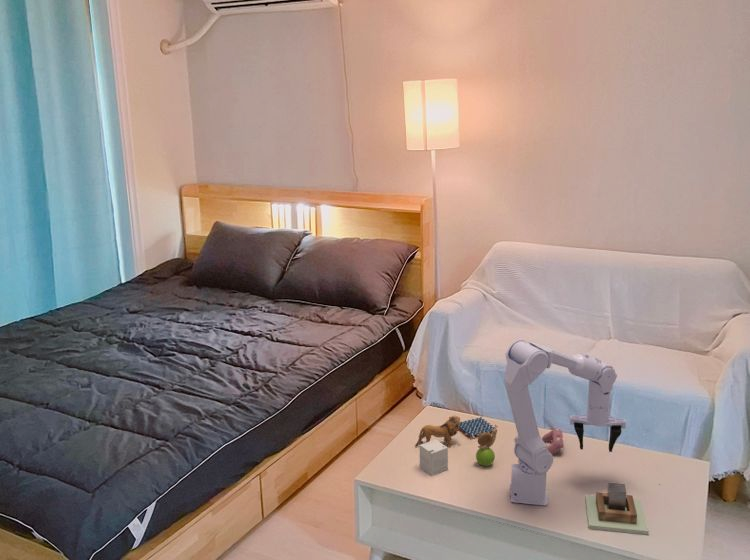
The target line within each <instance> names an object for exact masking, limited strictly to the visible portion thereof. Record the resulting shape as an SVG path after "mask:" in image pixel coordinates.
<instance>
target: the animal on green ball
mask: <svg viewBox="0 0 750 560" xmlns="http://www.w3.org/2000/svg"><path fill="white" fill-rule="evenodd" d="M494 427H495V428H494V429H493V430H492V432H493V433H492V435H491V434H490V433H487V432H484V433H482V434H480V435H479V437H478V436H477V437H478V438H477V444H478V446H477V447H478V450H477V451H476V453H475V459H476V461H477V463H478V464H480V465H481V466H483V467H488V466H490V465H492V464H493V463H494V461H495V458H496V455H495V454H496V453H495V452H494V450H493V449H492V448H490V447H493V445H494V443H495V441H496V436H497V433H498V425H497V424H494Z"/></svg>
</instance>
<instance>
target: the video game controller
mask: <svg viewBox="0 0 750 560" xmlns="http://www.w3.org/2000/svg"><path fill="white" fill-rule="evenodd" d="M541 438H542V440H543V441H544V443H549V442H551V444H549V445H548V446H547V449H548V451H549V452H550V453H551V454H552V455H553V454H556V453H557V452H559V451H560V450H561V449H564V447H565V446H564V440H563V438H564V435H563V431H562V430H561V429H559V428H556V427H555V428H553V429H551V431H549V432H547V433H545V434H544V435H543V436H542V437H541Z"/></svg>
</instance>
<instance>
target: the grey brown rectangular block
mask: <svg viewBox="0 0 750 560" xmlns="http://www.w3.org/2000/svg"><path fill="white" fill-rule="evenodd" d="M606 493H607V509H611V510H621V511H625V504H626V495H627V488H626V485H625V483H620V482H619V483H618V482H607V492H606Z"/></svg>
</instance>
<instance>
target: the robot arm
mask: <svg viewBox="0 0 750 560" xmlns="http://www.w3.org/2000/svg"><path fill="white" fill-rule="evenodd" d="M504 355H505V359H506V366H505V374H504V386H505V389H506V394H507V399H508V401H509V405H510V409H511V413H512V417H513V421H514V424H515V429H516V431H517V432H516V433H517V435H516V436H515V437H514V439H513V440H514V448H513V453H514V455H515V457H516V458H517V462H518V463H515V464H513V463H512V464H511V473H510V475H511V476H510V477H511V480H510V483H509V491H510V503H515V504H516V503H517V504H525V505H534V506H535V505H536V506H546V507H547V505H548V489H547V473H548V472H549V470H550V469H551V468H552V466H553V462H554V455H553V454H551V453H550V452H549V451H548V449H547V447H548V446H547V444H546V442H544V441H543V440H542V437H541V436H540V432H539V431H540V430H539V428H538V423H537V418H536V416H535V411H534V407H533V403H532V398H531V395H530V390H529V385H532V384H533V382H534V383H535V381H536V380H537V379H538V378H539V377H540V376H541V375H542V374H543V373H544V372H545V371H546V369H550V368H551V366H552V364H553V365H556V366H561V367H563V368H567V369H568V372H569V373H570V375H573V376H576V377H579V378H581V379H584V380H587V381H588V390H587V391H588V392H587V393H588V395H587V406H586V407H587V412H586V414H576V415H573V414H572V415H571V414H570V415H569V424H570V425H571V426H573V427H574V431H575V433H576V435H577V439H578V442H579V449H580V450H582V451H583V450H584V433H585V429H584V425H586V426H594V427H609V440H608V441H609V442H608V451H609V453H612V452H613V449H614V446H615V443H616V442H617V440H618V439H619V437H620V436H621V434H622V429H624V430H625V429H626V426H627V421H626V419H625V418H620V417H619V418H618V417H613V416H610V409H611V408H610V405H611V392H612V391H613V387H614V384H615V382H616V380H617V377H618V374H616V371H615V368H614V367H613V366H612V365H609V364H607V363H605V362H603V361H602V360H601V359H599V358H592V357H590V355H589V354H587V353H584V352H582V353H581V354H580V353H575V354H573V355H569V354H567V353H564V352H561V351H560V350H557V349H554V348H552V347H549V346H547V345H543V344H541V343H536V342H533V341H528V342H527V341H526V340H524V339H516V340H514V341H513V342H512V343H511V344H510V345H509V347H508V348H507V350H506V352H505V353H504Z"/></svg>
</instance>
